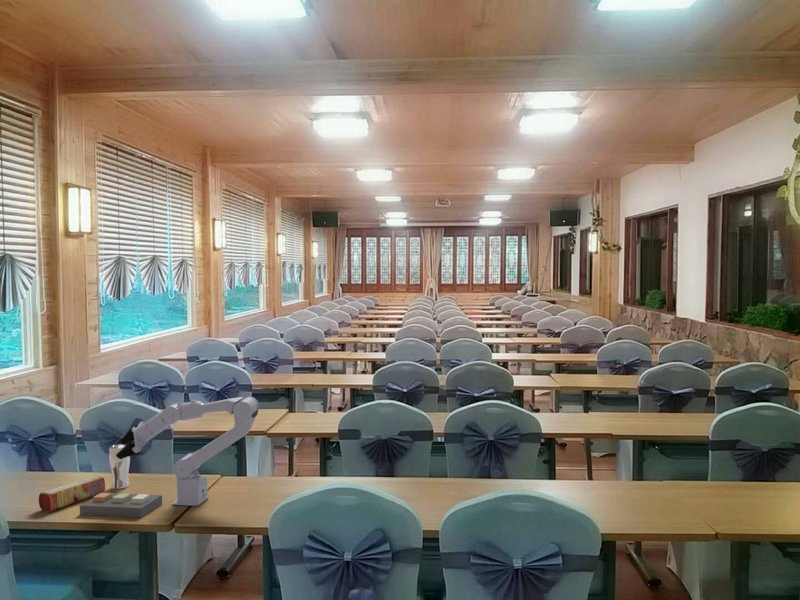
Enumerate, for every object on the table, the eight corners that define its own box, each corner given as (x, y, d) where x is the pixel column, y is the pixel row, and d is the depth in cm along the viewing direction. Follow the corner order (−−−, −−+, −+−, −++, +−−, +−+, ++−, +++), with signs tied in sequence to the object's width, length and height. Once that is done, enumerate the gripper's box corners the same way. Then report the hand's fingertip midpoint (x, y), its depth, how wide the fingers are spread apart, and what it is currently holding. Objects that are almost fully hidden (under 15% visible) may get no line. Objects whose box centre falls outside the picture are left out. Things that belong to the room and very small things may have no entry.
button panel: (162, 503, 203) (162, 495, 203) (141, 517, 191) (141, 508, 191) (104, 501, 207) (103, 492, 207) (79, 514, 195) (79, 505, 195)
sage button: (130, 502, 201) (130, 493, 201) (123, 507, 197) (123, 498, 197) (120, 502, 201) (119, 493, 201) (112, 506, 197) (112, 497, 197)
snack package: (95, 491, 219) (94, 472, 218) (107, 493, 216) (106, 474, 215) (37, 511, 200) (36, 491, 199) (50, 514, 197) (49, 494, 196)
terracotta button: (112, 501, 202) (111, 493, 202) (104, 506, 198) (104, 497, 198) (101, 501, 202) (101, 492, 202) (93, 505, 199) (93, 496, 198)
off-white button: (150, 503, 199) (149, 494, 199) (142, 507, 196) (142, 498, 195) (139, 503, 200) (138, 494, 200) (131, 507, 196) (131, 498, 196)
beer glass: (123, 490, 218) (121, 449, 218) (106, 489, 220) (104, 448, 219) (135, 483, 225) (133, 444, 225) (118, 483, 226) (117, 443, 226)
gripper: (146, 408, 209) (115, 429, 210) (140, 434, 196) (107, 456, 197) (160, 420, 212) (129, 441, 213) (155, 446, 200) (123, 469, 200)
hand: (120, 449), depth 205 cm, fingers open, 7 cm apart
